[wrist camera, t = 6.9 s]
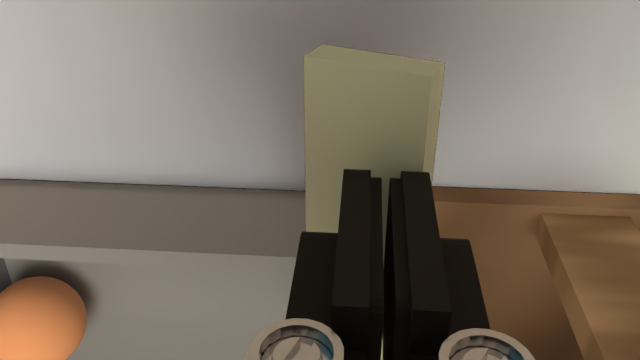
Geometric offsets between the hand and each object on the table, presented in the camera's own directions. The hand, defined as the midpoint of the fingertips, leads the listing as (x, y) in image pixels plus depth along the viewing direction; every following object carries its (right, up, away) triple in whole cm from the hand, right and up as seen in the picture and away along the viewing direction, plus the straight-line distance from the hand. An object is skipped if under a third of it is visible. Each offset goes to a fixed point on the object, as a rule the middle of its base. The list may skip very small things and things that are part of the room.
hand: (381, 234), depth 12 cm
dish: (-8, -4, +13) cm, 16 cm away
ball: (-12, -4, +12) cm, 17 cm away
